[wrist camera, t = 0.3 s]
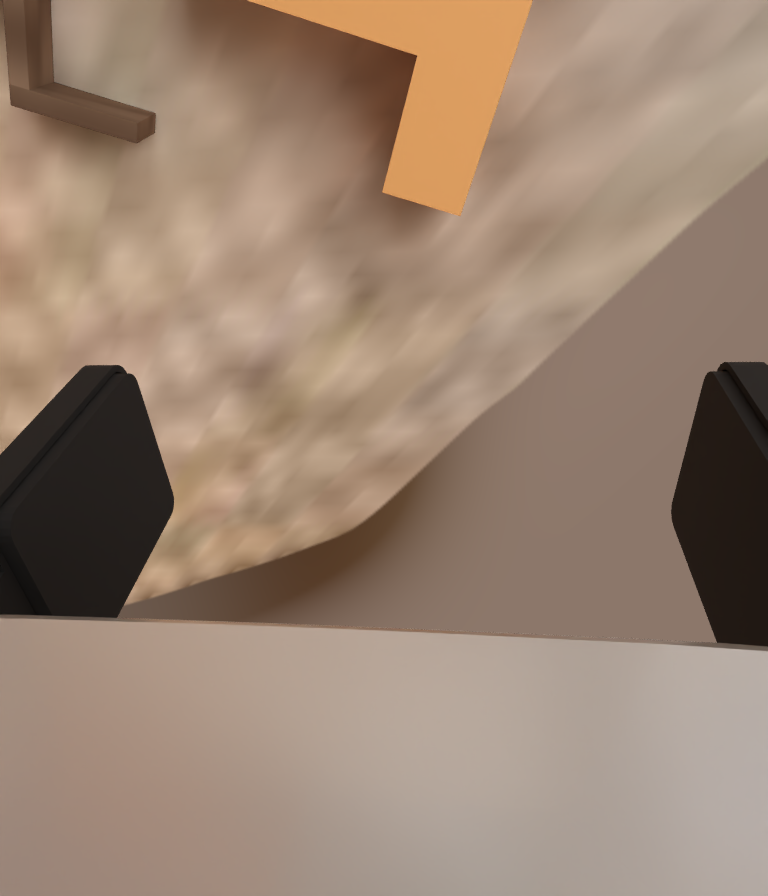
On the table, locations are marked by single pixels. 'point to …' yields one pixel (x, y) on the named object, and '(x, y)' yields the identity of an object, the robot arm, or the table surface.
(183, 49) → the table surface
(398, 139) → the t block
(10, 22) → the t dock
